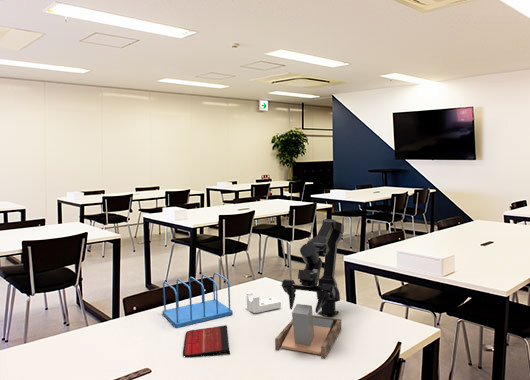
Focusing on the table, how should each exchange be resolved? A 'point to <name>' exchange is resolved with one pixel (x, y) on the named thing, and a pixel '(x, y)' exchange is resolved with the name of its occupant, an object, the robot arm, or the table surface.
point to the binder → (206, 342)
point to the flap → (320, 334)
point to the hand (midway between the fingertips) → (303, 310)
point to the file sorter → (196, 306)
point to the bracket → (261, 303)
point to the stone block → (303, 324)
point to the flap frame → (327, 342)
